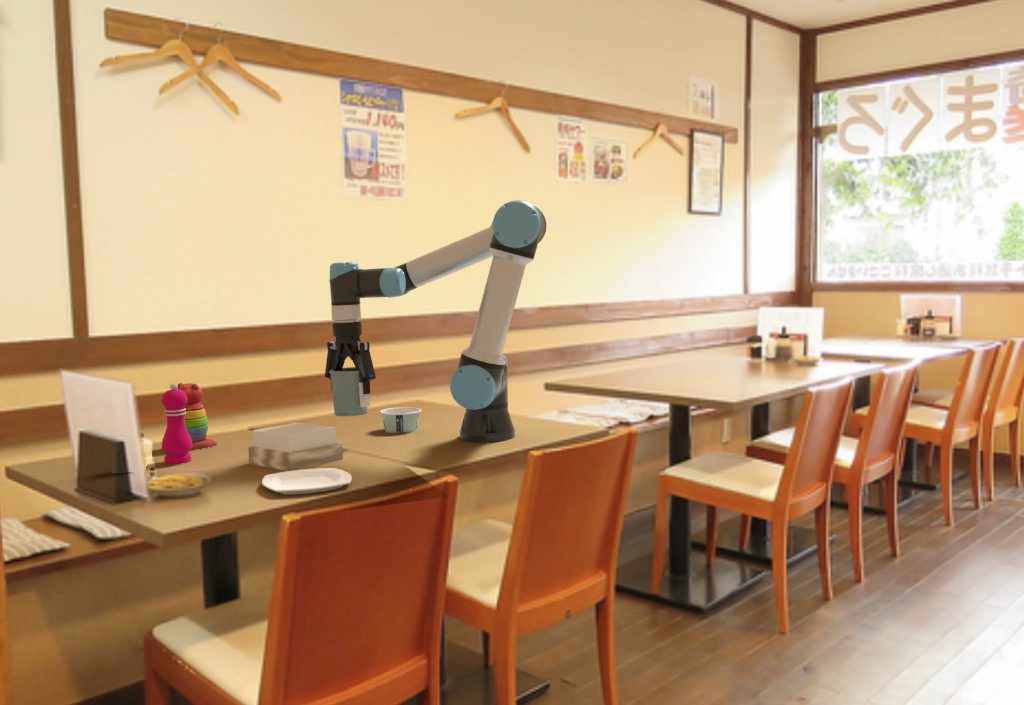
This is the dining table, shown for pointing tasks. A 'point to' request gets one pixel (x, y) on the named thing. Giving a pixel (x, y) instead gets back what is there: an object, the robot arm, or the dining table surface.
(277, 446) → the tower top
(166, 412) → the pepper mill
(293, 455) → the tower base
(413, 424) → the food container
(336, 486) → the plate
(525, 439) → the dining table surface
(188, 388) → the stacking bear
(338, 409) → the blue-grey cup
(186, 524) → the dining table surface
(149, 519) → the dining table surface
